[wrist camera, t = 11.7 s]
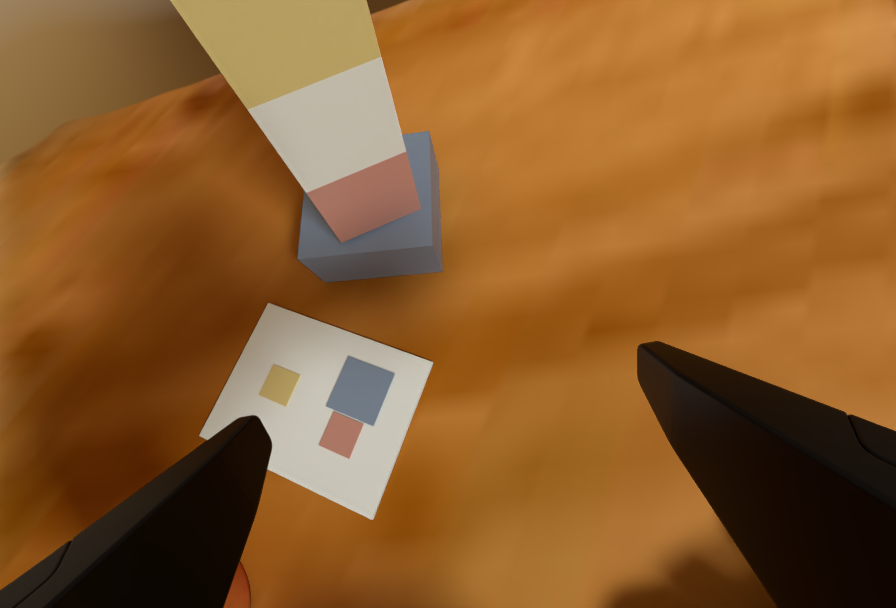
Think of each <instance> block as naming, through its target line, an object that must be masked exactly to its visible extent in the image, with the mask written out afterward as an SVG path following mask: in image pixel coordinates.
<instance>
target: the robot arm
mask: <svg viewBox="0 0 896 608" xmlns="http://www.w3.org/2000/svg"><path fill="white" fill-rule="evenodd" d="M637 376H638V381H639V383H640V386H641V388H642V390H643V392H644V394H645V396H646V398H647V400H648V402H649V403H650V405H651V407H652V409H653V411H654V413H655V415H656V417H657V419H658V421H659V423H660V425H661V427H662V429H663V431H664V433H665V435H666V437H667V439H668V441H669V442H670V444H671V446H672V447H673V449H674V451H675V452H676V454H677V455H678V457H679V458H680V460H681V461H682V463H683V464H684V466H685V468H686V469H687V471H688V472H689V474H690V475H691V477H692V478H693V480H694V481H695V483H696V484H697V486H698V487H699V489H700V490H701V492H702V493H703V495H704V496H705V498H706V499H707V501H708V503H709V504H710V506H711V507H712V509H713V510H714V512H715V513H716V515H717V516H718V518H719V519H720V521H721V522H722V524H723V525H724V527H725V528H726V530H727V531H728V533H729V534H730V536H731V537H732V539H733V541H734V542H735V544H736V545H737V547H738V548H739V550H740V551H741V553H742V554H743V556H744V557H745V559H746V560H747V562H748V563H749V565H750V566H751V568H752V569H753V571H754V572H755V574H756V575H757V577H758V579H759V580H760V582H761V583H762V585H763V586H764V588H765V589H766V591H767V592H768V594H769V595H770V597H771V598H772V600H773V601H774V603H775V604H776V606H777V607H778V608H896V431H894V430H892V429H889V428H886V427H883V426H881V425H878V424H875V423H873V422H870V421H867V420H865V419H862V418H860V417H857V416H854V415H848V416H847V414H846V413H845V412H844V411H841V410H838V409H836V408H833V407H831V406H828V405H825V404H823V403H820V402H817V401H815V400H812V399H809V398H807V397H804V396H802V395H799V394H796V393H794V392H791V391H788V390H786V389H783V388H781V387H778V386H775V385H773V384H770V383H767V382H765V381H762V380H760V379H757V378H754V377H752V376H749V375H746V374H744V373H741V372H739V371H736V370H733V369H731V368H728V367H725V366H723V365H720V364H718V363H715V362H712V361H710V360H707V359H704V358H702V357H699V356H697V355H694V354H691V353H689V352H686V351H683V350H681V349H678V348H676V347H673V346H670V345H668V344H665V343H662V342H660V341H654V342H648V343H643V344H640V345H639V346H638V349H637ZM271 452H272V441H271V438H270V436H269V434H268V432H267V431H266V429H265V427H264V425H263V423H262V422H261V420H260V418H259V417H258V416H256V415H250V416H244V417H239V418H237V419H236V420H234V421H233V422H231V423H230V424H229V425H227V426H226V427H225V428H223V429H222V430H221V431H219V432H218V433H216V434H215V435H214V436H212V437H211V438H210V439H208V440H207V441H205V442H204V443H203V444H201V445H200V446H199V447H197V448H196V449H194V450H193V451H192V452H190V453H189V454H188V455H186V456H185V457H184V458H182V459H181V460H179V461H178V462H177V463H175V464H174V465H173V466H171V467H170V468H168V469H167V470H166V471H164V472H163V473H162V474H160V475H159V476H158V477H156V478H155V479H153V480H152V481H151V482H149V483H148V484H147V485H145V486H144V487H142V488H141V489H140V490H138V491H137V492H136V493H134V494H133V495H131V496H130V497H129V498H127V499H126V500H125V501H123V502H122V503H121V504H119V505H118V506H116V507H115V508H114V509H112V510H111V511H110V512H108V513H107V514H105V515H104V516H103V517H101V518H100V519H99V520H97V521H96V522H94V523H93V524H92V525H90V526H89V527H88V528H86V529H85V530H84V531H82V532H81V533H79V534H78V535H77V536H75V537H74V538H73V540H72V541H68V542H67V543H66V544H64V545H63V546H61V547H60V548H59V549H57V550H56V551H55V552H53V553H52V554H51V555H49V556H48V557H46V558H45V559H44V560H42V561H41V562H39V563H38V564H37V565H35V566H34V567H32V568H31V569H30V570H28V571H27V572H25V573H24V574H23V575H21V576H20V577H18V578H17V579H16V580H14V581H13V582H11V583H10V584H9V585H7V586H6V587H4V588H3V589H1V590H0V608H224V605H225V602H226V599H227V596H228V593H229V590H230V588H231V585H232V582H233V579H234V576H235V573H236V570H237V567H238V565H239V562H240V559H241V556H242V553H243V550H244V547H245V544H246V542H247V539H248V536H249V533H250V530H251V527H252V524H253V521H254V518H255V515H256V512H257V508H258V505H259V501H260V497H261V493H262V489H263V485H264V481H265V477H266V472H267V468H268V464H269V460H270V456H271Z"/></svg>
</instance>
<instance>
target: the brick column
mask: <svg viewBox="0 0 896 608" xmlns="http://www.w3.org/2000/svg"><path fill="white" fill-rule="evenodd" d="M170 1H171V2H172V4H173V5H174V6H175V8H176V9H177V10H178V12H179V13H180V15H181V16H182V18H183V19H184V21H185V22H186V23H187V25H188V26H189V28H190V29H191V30H192V32H193V33H194V35H195V36H196V38H197V39H198V40H199V42H200V43H201V45H202V46H203V47H204V49H205V50H206V52H207V53H208V55H209V56H210V57H211V59H212V60H213V61H214V63H215V64H216V66H217V67H218V69H219V70H220V72H221V73H222V74H223V76H224V77H225V79H226V80H227V81H228V83H229V84H230V86H231V87H232V89H233V90H234V91H235V93H236V94H237V96H238V97H239V98H240V100H241V101H242V103H243V104H244V106H245V107H246V108H247V110H248V111H249V113H250V114H251V115H252V117H253V118H254V120H255V121H256V123H257V124H258V125H259V127H260V128H261V130H262V131H263V132H264V134H265V135H266V137H267V138H268V140H269V141H270V142H271V144H272V145H273V147H274V148H275V149H276V151H277V152H278V154H279V155H280V157H281V158H282V159H283V161H284V162H285V164H286V165H287V166H288V168H289V169H290V171H291V172H292V174H293V175H294V176H295V178H296V179H297V181H298V182H299V183H300V185H301V186H302V188H303V189H304V191H305V192H306V193H307V195H308V196H309V198H310V199H311V200H312V202H313V203H314V205H315V206H316V208H317V209H318V210H319V212H320V213H321V215H322V216H323V217H324V219H325V220H326V222H327V223H328V225H329V226H330V227H331V229H332V230H333V232H334V233H335V235H336V236H337V237H338V239H339V240H340V242H341V243H343V242H345V241H348V240H350V239H352V238H355V237H357V236H359V235H362V234H364V233H366V232H369V231H371V230H373V229H376V228H378V227H380V226H383V225H385V224H387V223H390V222H392V221H394V220H397V219H399V218H401V217H404V216H406V215H408V214H411V213H413V212H415V211H418V210H420V209H421V205H420V201H419V197H418V194H417V190H416V186H415V182H414V178H413V175H412V171H411V167H410V163H409V160H408V156H407V152H406V148H405V144H404V141H403V137H402V133H401V129H400V125H399V122H398V118H397V114H396V110H395V107H394V103H393V99H392V95H391V91H390V88H389V84H388V80H387V76H386V72H385V69H384V65H383V61H382V57H381V54H380V50H379V46H378V42H377V38H376V35H375V31H374V27H373V23H372V19H371V16H370V12H369V8H368V4H367V1H366V0H170Z"/></svg>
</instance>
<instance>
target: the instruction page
mask: <svg viewBox="0 0 896 608" xmlns="http://www.w3.org/2000/svg"><path fill="white" fill-rule="evenodd" d="M432 365H433V362H431V361H428V360H426V359H423V358H420V357H417V356H414V355H412V354H409V353H406V352H403V351H401V350H398V349H395V348H392V347H389V346H387V345H384V344H381V343H378V342H376V341H373V340H370V339H367V338H365V337H362V336H359V335H356V334H353V333H351V332H348V331H345V330H342V329H340V328H337V327H334V326H331V325H328V324H326V323H323V322H320V321H317V320H315V319H312V318H309V317H306V316H304V315H301V314H298V313H295V312H292V311H290V310H287V309H284V308H281V307H279V306H276V305H273V304H270V303H268V304H267V306H266V308H265V310H264V312H263V314H262V316H261V318H260V319H259V321H258V323H257V325H256V327H255V329H254V331H253V333H252V335H251V337H250V339H249V341H248V343H247V344H246V346H245V348H244V350H243V352H242V354H241V356H240V358H239V360H238V362H237V364H236V366H235V368H234V369H233V371H232V373H231V375H230V377H229V379H228V381H227V383H226V385H225V387H224V389H223V391H222V393H221V394H220V396H219V398H218V400H217V402H216V404H215V406H214V408H213V410H212V412H211V414H210V416H209V418H208V419H207V421H206V423H205V425H204V427H203V429H202V431H201V433H200V435H199V436H200V437H202V438H204V439H206V440H208V439H210V438H211V437H212V436H214V435H215V434H216V433H218V432H219V431H221V430H222V429H223V428H225V427H226V426H227V425H229V424H230V423H231V422H233V421H234V420H236V419H237V418H239V417H244V416H250V415H256V416H258V417H259V418H260V420H261V422H262V423H263V425H264V427H265V429H266V431H267V432H268V434H269V436H270V438H271V441H272V452H271V456H270V460H269V464H268V468H267V469H268V470H270V471H272V472H274V473H276V474H278V475H280V476H283V477H285V478H287V479H289V480H291V481H293V482H295V483H297V484H299V485H301V486H303V487H305V488H307V489H309V490H311V491H313V492H315V493H318V494H320V495H322V496H324V497H326V498H328V499H330V500H332V501H334V502H336V503H338V504H340V505H342V506H344V507H346V508H348V509H350V510H353V511H355V512H357V513H359V514H361V515H363V516H365V517H367V518H369V519H371V520H373V519H374V516H375V514H376V511H377V509H378V506H379V503H380V501H381V498H382V496H383V493H384V490H385V488H386V485H387V483H388V480H389V477H390V475H391V472H392V469H393V467H394V464H395V462H396V459H397V456H398V454H399V451H400V449H401V446H402V443H403V441H404V438H405V436H406V433H407V430H408V428H409V425H410V423H411V420H412V417H413V415H414V412H415V410H416V407H417V404H418V402H419V399H420V397H421V394H422V391H423V389H424V386H425V384H426V381H427V378H428V376H429V373H430V371H431V368H432Z"/></svg>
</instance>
